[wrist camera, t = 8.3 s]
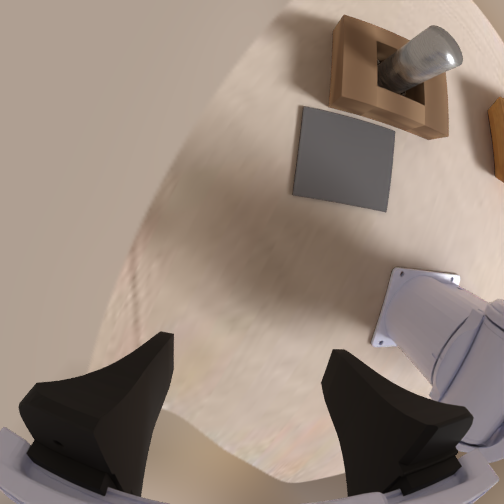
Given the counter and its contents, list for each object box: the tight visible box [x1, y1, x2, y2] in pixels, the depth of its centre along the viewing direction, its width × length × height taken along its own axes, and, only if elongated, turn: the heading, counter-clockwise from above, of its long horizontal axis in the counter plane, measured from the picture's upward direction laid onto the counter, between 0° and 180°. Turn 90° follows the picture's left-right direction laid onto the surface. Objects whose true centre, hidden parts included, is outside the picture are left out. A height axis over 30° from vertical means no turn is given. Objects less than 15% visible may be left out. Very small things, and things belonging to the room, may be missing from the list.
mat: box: [292, 106, 395, 212], centre depth 19 cm, size 8×7×1 cm
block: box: [329, 15, 449, 140], centre depth 16 cm, size 10×8×3 cm
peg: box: [377, 26, 463, 94], centre depth 13 cm, size 3×3×9 cm
